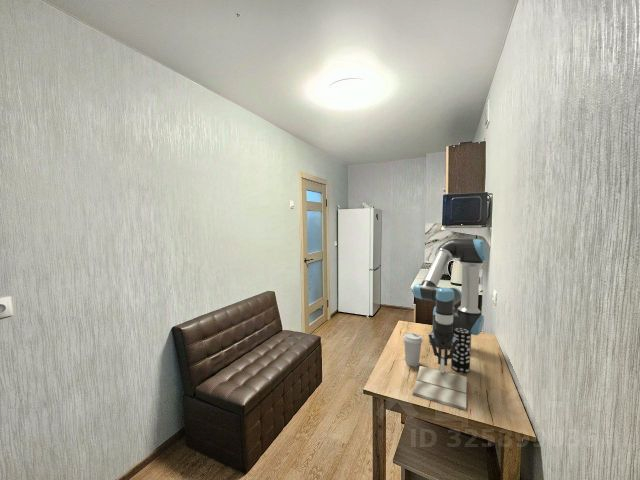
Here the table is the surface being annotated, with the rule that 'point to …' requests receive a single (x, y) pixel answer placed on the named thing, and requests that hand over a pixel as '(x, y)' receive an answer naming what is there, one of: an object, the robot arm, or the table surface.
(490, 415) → the table surface
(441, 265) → the robot arm
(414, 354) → the coffee cup
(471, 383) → the table surface
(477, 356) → the table surface
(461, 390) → the plank
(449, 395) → the laid board
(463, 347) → the spotted tube
